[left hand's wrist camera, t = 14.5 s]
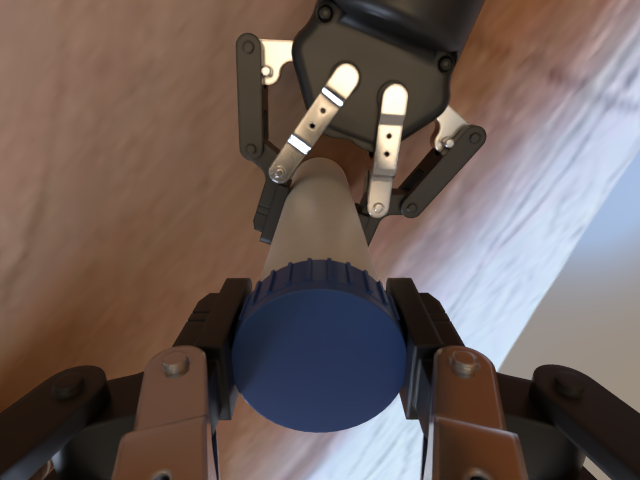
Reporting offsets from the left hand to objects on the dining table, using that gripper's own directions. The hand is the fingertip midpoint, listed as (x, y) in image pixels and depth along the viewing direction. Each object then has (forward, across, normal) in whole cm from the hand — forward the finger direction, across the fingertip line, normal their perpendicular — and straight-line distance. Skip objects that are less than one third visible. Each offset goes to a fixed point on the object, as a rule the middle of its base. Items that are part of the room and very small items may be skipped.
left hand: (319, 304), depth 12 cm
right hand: (+10, -1, -2) cm, 11 cm away
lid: (-3, 0, 0) cm, 3 cm away
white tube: (+17, 0, 0) cm, 17 cm away
